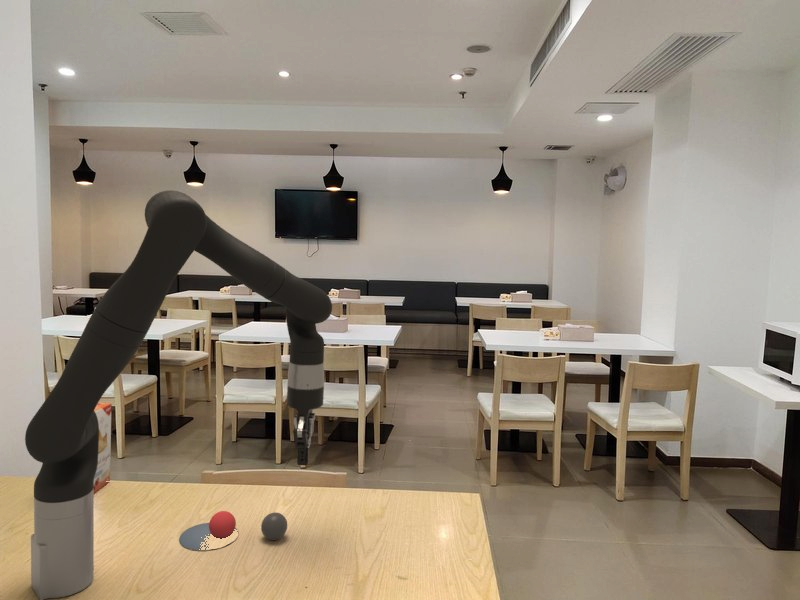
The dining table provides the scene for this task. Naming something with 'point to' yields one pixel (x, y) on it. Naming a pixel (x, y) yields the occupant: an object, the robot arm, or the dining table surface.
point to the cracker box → (103, 445)
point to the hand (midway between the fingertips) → (303, 463)
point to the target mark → (195, 536)
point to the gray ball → (274, 526)
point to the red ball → (222, 524)
